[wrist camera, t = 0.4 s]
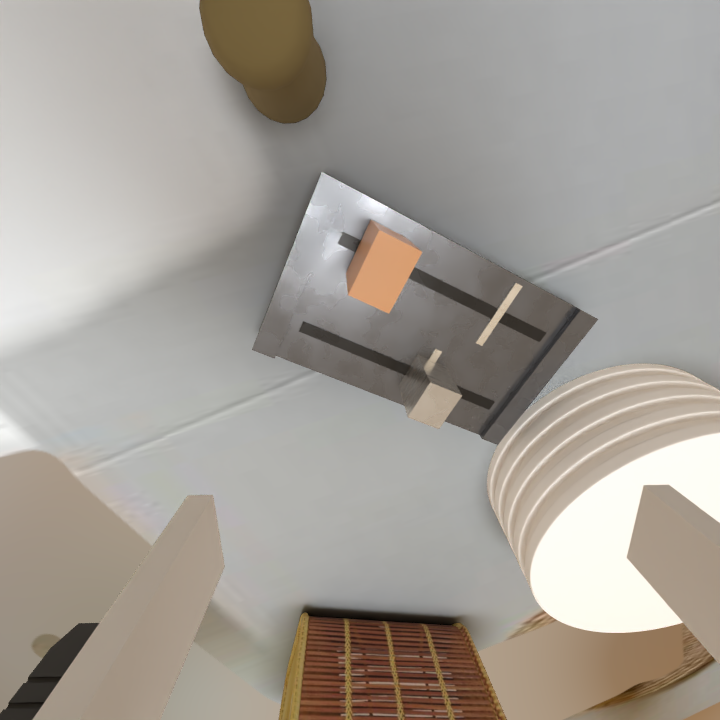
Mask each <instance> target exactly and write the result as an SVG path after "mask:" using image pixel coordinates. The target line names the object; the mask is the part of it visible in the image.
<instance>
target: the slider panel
mask: <svg viewBox="0 0 720 720" xmlns="http://www.w3.org/2000/svg"><path fill="white" fill-rule="evenodd" d="M370 220H373V221H375V222H377V223H379V224H381V225H383V226H384V227H386V228H388V229H390V230H392V231H394V232H396V233H398V234H400V235H402V236H404V237H406V238H407V239H408V240H409V241H410V242H412V243H413V244H414V245H415V246H416V247H417V248H418V249H420V250H421V251H422V254H421V256H420V258H419V259H418V261H417V263H416V265H415V267H414V269H413V271H412V272H411V274H410V276H409V278H408V280H407V282H406V283H405V285H404V287H403V289H402V291H401V293H400V295H399V296H398V298H397V300H396V302H395V304H394V306H393V308H392V309H391V311H390V313H386V312H384V311H382V310H380V309H378V308H375V307H373V306H371V305H369V304H366V303H364V302H362V301H360V300H358V299H355V298H353V297H351V296H349V295H348V290H347V279H346V272H347V270H348V268H349V265H350V263H351V261H352V259H353V257H354V255H355V253H356V250H357V248H358V246H359V244H360V242H361V240H362V238H363V235H364V233H365V231H366V229H367V227H368V225H369V222H370ZM597 320H598V319H597V318H595V317H593V316H591V315H589V314H587V313H586V312H584V311H582V310H580V309H578V308H576V307H575V306H573V305H571V304H569V303H567V302H565V301H563V300H562V299H560V298H558V297H556V296H554V295H552V294H550V293H548V292H547V291H545V290H543V289H541V288H539V287H537V286H535V285H533V284H532V283H530V282H528V281H526V280H524V279H522V278H520V277H518V276H517V275H515V274H513V273H511V272H509V271H507V270H505V269H503V268H502V267H500V266H498V265H496V264H494V263H492V262H490V261H488V260H487V259H485V258H483V257H481V256H479V255H477V254H475V253H473V252H472V251H470V250H468V249H466V248H464V247H462V246H460V245H458V244H457V243H455V242H453V241H451V240H449V239H447V238H445V237H443V236H442V235H440V234H438V233H436V232H434V231H432V230H430V229H428V228H427V227H425V226H423V225H421V224H419V223H417V222H415V221H414V220H412V219H410V218H408V217H406V216H404V215H402V214H400V213H399V212H397V211H395V210H393V209H391V208H389V207H387V206H385V205H384V204H382V203H380V202H378V201H376V200H374V199H372V198H370V197H369V196H367V195H365V194H363V193H361V192H359V191H357V190H355V189H354V188H352V187H350V186H348V185H346V184H344V183H342V182H340V181H339V180H337V179H335V178H333V177H331V176H329V175H327V174H325V173H324V172H322V173H321V175H320V178H319V180H318V183H317V186H316V188H315V191H314V193H313V196H312V198H311V201H310V203H309V206H308V208H307V211H306V214H305V216H304V219H303V221H302V224H301V226H300V229H299V231H298V234H297V236H296V239H295V242H294V244H293V247H292V249H291V252H290V254H289V257H288V259H287V262H286V264H285V267H284V270H283V272H282V275H281V277H280V280H279V282H278V285H277V287H276V290H275V293H274V295H273V298H272V300H271V303H270V305H269V308H268V310H267V313H266V315H265V318H264V321H263V323H262V326H261V328H260V331H259V333H258V336H257V338H256V341H255V343H254V346H253V349H252V350H254V351H257V352H259V353H262V354H264V355H267V356H269V357H272V358H275V356H278V357H281V358H283V359H286V360H289V361H291V362H294V363H296V364H299V365H301V366H304V367H307V368H309V369H312V370H314V371H317V372H319V373H322V374H325V375H327V376H330V377H332V378H335V379H337V380H340V381H343V382H345V383H348V384H350V385H353V386H355V387H358V388H361V389H363V390H366V391H368V392H371V393H373V394H376V395H379V396H381V397H384V398H386V399H389V400H391V401H394V402H397V403H399V404H402V405H404V406H405V409H406V413H407V416H408V417H409V418H411V419H414V420H416V421H419V422H422V423H424V424H427V425H430V426H432V427H435V428H437V429H439V428H440V427H441V425H442V424H443V422H444V421H445V422H448V423H451V424H453V425H456V426H458V427H461V428H463V429H466V430H469V431H471V432H474V433H476V434H479V435H480V436H481V438H482V439H484V440H487V441H489V442H492V443H495V444H497V445H498V444H499V443H500V442H501V440H502V439H503V438H504V437H505V435H506V434H507V433H508V432H509V430H510V429H511V428H512V427H513V425H514V424H515V423H516V422H517V420H518V419H519V418H520V417H521V415H522V414H523V413H524V412H525V410H526V409H527V408H528V407H529V405H530V404H531V403H532V402H533V400H534V399H535V398H536V397H537V395H538V394H539V393H540V392H541V390H542V389H543V388H544V386H545V385H546V384H547V383H548V381H549V380H550V379H551V378H552V376H553V375H554V374H555V373H556V371H557V370H558V369H559V368H560V366H561V365H562V364H563V363H564V361H565V360H566V359H567V358H568V356H569V355H570V354H571V353H572V351H573V350H574V349H575V348H576V346H577V345H578V344H579V343H580V341H581V340H582V339H583V338H584V336H585V335H586V334H587V333H588V331H589V330H590V329H591V328H592V326H593V325H594V324H595V323H596V321H597Z"/></svg>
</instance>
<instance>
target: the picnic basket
mask: <svg viewBox="0 0 720 720" xmlns="http://www.w3.org/2000/svg"><path fill="white" fill-rule="evenodd" d="M279 720H507V719H506V717H505V714H504V712H503V710H502V707H501V705H500V703H499V700H498V698H497V696H496V693H495V691H494V689H493V686H492V684H491V682H490V679H489V677H488V675H487V672H486V670H485V668H484V666H483V663H482V661H481V659H480V656H479V654H478V652H477V649H476V647H475V645H474V642H473V640H472V638H471V635H470V633H469V632H468V630H467V628H466V627H465V626H464V625H462V624H460V623H454V624H452V625H451V626H449V625H434V624H419V623H404V622H388V621H373V620H358V619H343V618H328V617H313V616H308V613H303V614H302V615H301V617H300V621H299V624H298V628H297V632H296V636H295V640H294V644H293V648H292V652H291V656H290V660H289V664H288V668H287V673H286V679H285V684H284V690H283V696H282V702H281V709H280V715H279Z"/></svg>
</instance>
